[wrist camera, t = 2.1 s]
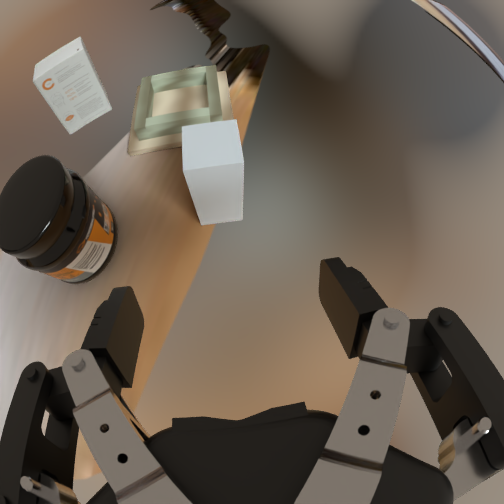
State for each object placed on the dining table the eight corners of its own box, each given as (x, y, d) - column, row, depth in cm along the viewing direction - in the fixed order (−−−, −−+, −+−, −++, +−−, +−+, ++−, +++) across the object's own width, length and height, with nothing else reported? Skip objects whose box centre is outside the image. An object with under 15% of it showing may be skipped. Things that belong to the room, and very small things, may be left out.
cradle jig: (130, 156, 32) (121, 140, 29) (139, 90, 36) (134, 74, 33) (236, 139, 33) (236, 120, 30) (225, 75, 37) (225, 59, 34)
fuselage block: (201, 225, 30) (183, 170, 19) (198, 189, 31) (181, 126, 20) (242, 219, 30) (244, 162, 20) (237, 184, 31) (236, 119, 21)
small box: (106, 91, 36) (81, 35, 24) (113, 110, 35) (84, 48, 22) (66, 115, 35) (34, 64, 22) (69, 136, 33) (31, 81, 21)
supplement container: (123, 280, 28) (61, 248, 16) (51, 290, 27) (-17, 267, 15) (121, 194, 31) (77, 135, 19) (55, 212, 30) (1, 168, 18)
